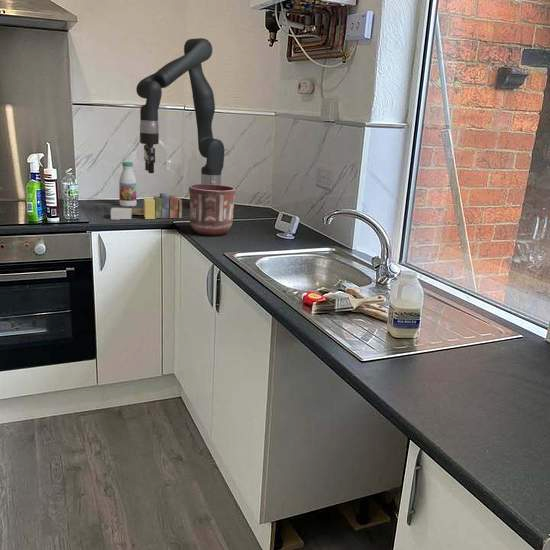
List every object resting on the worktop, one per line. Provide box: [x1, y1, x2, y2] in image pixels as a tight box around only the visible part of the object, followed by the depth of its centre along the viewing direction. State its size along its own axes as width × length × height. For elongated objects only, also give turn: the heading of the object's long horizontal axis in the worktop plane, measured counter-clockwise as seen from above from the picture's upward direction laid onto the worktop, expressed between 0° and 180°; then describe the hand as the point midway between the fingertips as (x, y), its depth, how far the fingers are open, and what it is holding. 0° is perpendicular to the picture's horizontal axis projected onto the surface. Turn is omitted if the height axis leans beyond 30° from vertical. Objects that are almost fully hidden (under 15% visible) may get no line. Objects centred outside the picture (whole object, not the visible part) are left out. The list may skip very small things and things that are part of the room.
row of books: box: [109, 192, 183, 219], centre depth 243 cm, size 30×8×10 cm, turn 110°
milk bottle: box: [118, 161, 137, 208], centre depth 264 cm, size 8×8×20 cm
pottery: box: [188, 183, 237, 237], centre depth 222 cm, size 18×18×18 cm
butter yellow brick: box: [143, 198, 156, 220], centre depth 242 cm, size 4×5×8 cm
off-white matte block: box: [110, 207, 133, 220], centre depth 239 cm, size 8×6×4 cm
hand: (149, 171), depth 237 cm, fingers open, 8 cm apart
